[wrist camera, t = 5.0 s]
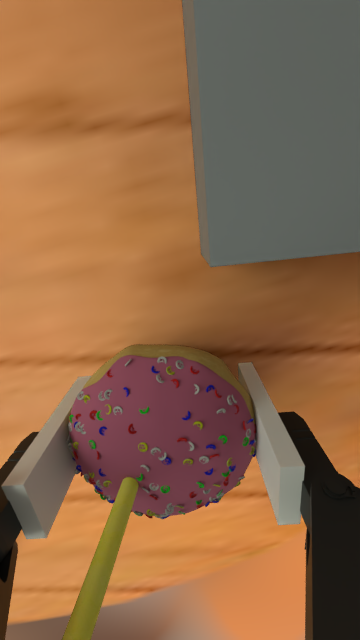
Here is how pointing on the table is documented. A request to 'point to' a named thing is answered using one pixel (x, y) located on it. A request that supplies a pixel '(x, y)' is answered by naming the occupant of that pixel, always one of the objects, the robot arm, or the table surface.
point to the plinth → (275, 127)
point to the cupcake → (155, 446)
